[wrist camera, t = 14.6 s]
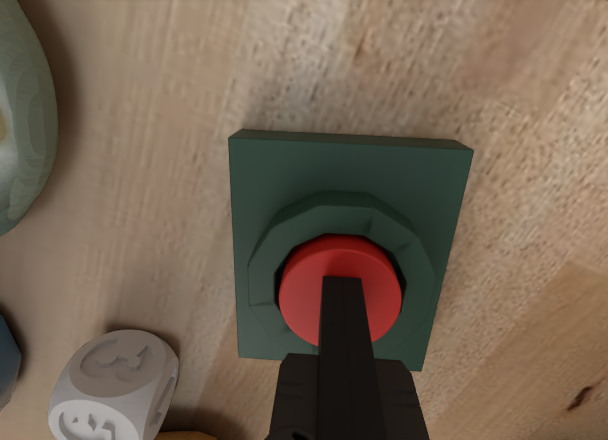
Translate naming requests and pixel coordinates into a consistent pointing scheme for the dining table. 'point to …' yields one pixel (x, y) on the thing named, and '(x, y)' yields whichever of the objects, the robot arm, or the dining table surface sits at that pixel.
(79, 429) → the die
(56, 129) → the cell model
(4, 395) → the wine bottle
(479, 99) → the dining table surface
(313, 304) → the button
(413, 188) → the button box
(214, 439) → the potato
